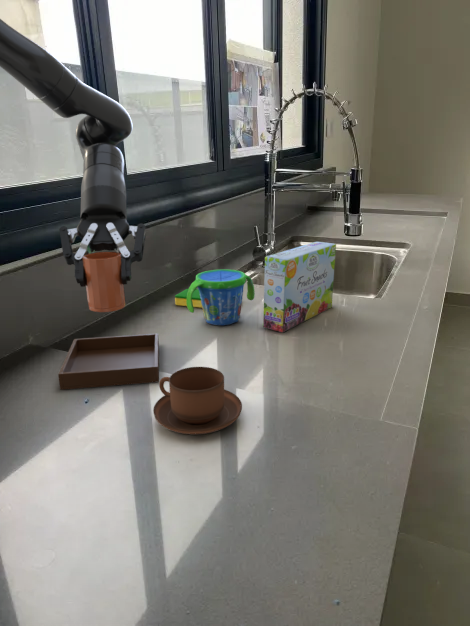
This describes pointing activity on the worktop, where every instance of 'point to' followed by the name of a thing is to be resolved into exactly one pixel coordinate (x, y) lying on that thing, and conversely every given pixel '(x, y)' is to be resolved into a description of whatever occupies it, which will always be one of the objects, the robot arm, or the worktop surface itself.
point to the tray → (111, 361)
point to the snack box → (298, 285)
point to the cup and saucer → (196, 402)
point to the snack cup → (221, 295)
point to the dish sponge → (182, 298)
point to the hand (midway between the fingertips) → (103, 282)
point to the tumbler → (104, 281)
